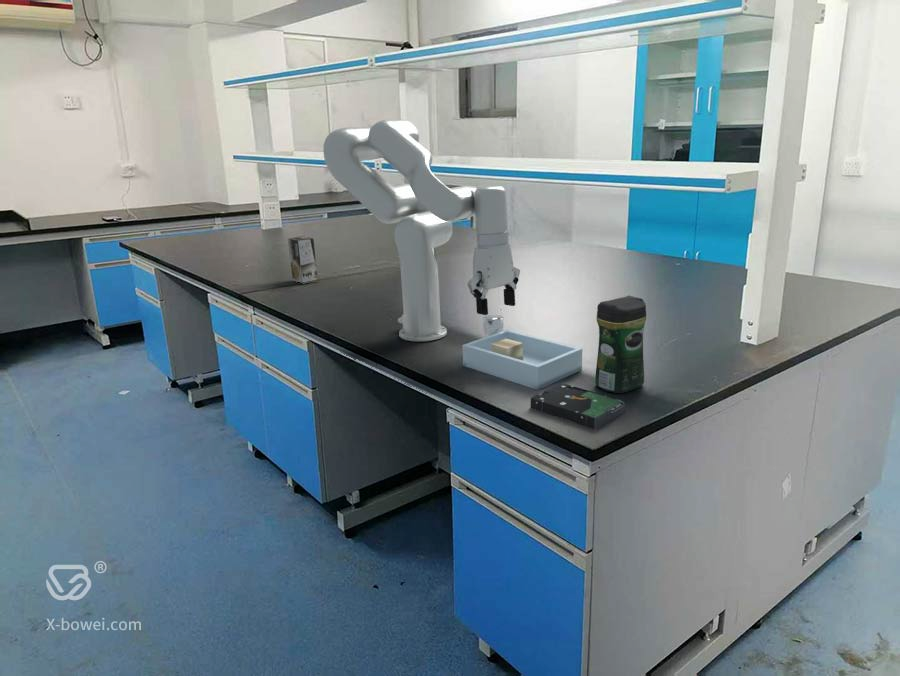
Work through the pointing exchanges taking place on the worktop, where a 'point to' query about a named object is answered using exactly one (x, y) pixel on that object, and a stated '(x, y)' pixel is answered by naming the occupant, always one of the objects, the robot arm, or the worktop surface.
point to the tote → (524, 359)
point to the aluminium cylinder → (492, 325)
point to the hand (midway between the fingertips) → (496, 309)
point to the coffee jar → (620, 344)
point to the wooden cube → (508, 348)
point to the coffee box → (302, 258)
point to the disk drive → (578, 405)
